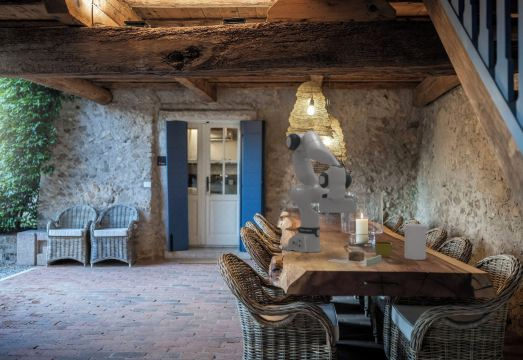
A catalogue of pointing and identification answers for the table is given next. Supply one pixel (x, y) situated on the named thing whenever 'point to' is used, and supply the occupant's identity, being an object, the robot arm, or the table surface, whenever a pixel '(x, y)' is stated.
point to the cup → (415, 241)
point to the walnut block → (356, 256)
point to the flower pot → (383, 249)
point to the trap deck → (367, 261)
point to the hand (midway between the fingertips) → (337, 221)
